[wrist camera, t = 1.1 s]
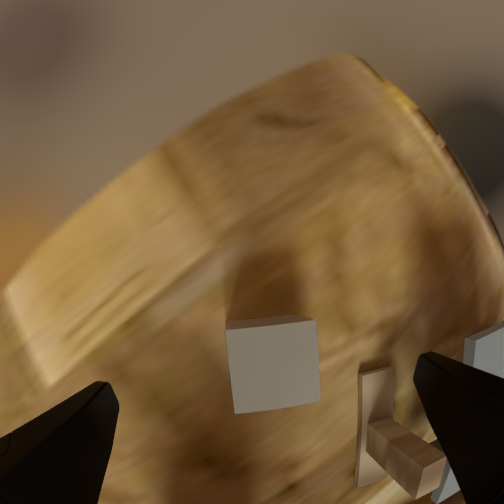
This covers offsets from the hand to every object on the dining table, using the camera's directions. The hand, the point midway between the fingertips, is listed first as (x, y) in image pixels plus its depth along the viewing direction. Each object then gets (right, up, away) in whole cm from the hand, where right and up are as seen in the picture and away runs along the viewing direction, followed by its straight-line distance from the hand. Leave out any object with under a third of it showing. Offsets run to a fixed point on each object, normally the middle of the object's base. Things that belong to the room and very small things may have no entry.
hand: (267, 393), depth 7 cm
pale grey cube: (0, -3, +13) cm, 13 cm away
